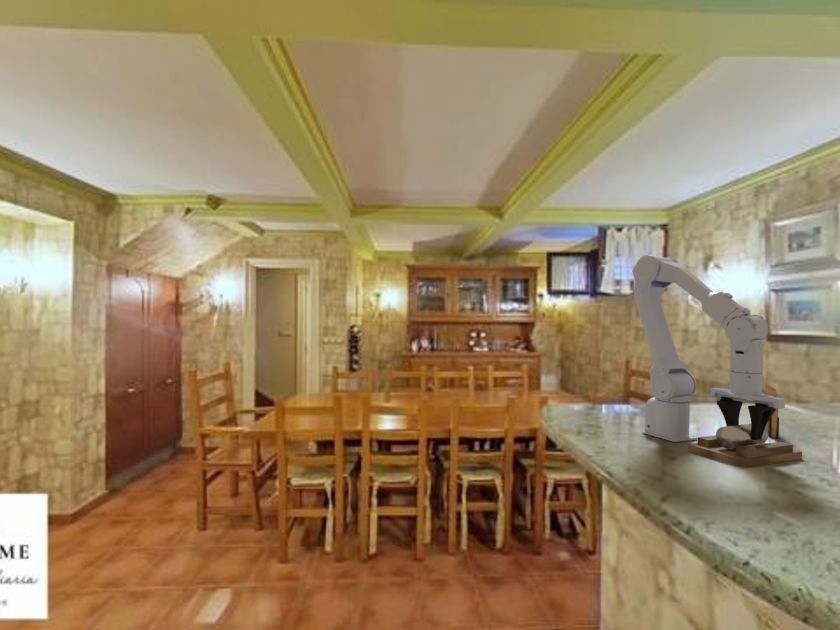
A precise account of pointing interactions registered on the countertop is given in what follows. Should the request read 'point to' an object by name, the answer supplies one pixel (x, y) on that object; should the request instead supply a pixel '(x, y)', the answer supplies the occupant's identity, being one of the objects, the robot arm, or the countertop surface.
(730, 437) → the steel axle
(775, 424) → the ammunition clip
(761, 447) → the cradle block
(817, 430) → the countertop surface
